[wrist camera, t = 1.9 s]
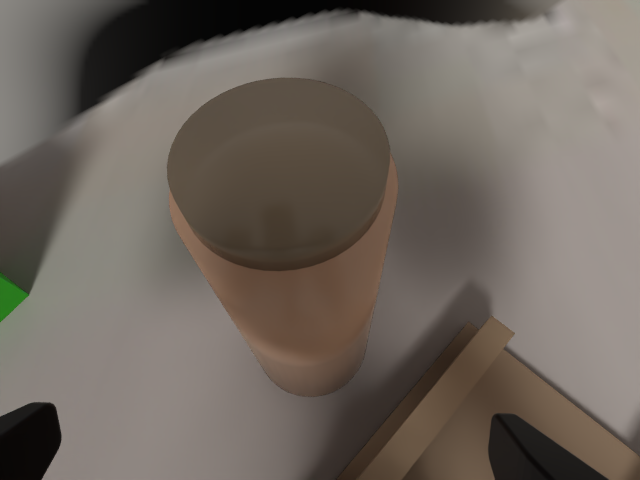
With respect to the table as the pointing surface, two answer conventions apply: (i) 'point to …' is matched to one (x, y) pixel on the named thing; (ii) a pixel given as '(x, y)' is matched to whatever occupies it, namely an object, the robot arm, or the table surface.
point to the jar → (289, 221)
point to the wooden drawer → (480, 418)
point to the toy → (9, 296)
